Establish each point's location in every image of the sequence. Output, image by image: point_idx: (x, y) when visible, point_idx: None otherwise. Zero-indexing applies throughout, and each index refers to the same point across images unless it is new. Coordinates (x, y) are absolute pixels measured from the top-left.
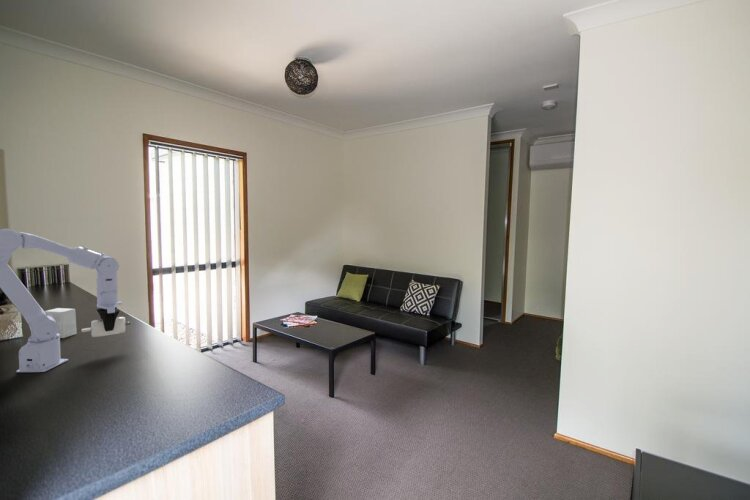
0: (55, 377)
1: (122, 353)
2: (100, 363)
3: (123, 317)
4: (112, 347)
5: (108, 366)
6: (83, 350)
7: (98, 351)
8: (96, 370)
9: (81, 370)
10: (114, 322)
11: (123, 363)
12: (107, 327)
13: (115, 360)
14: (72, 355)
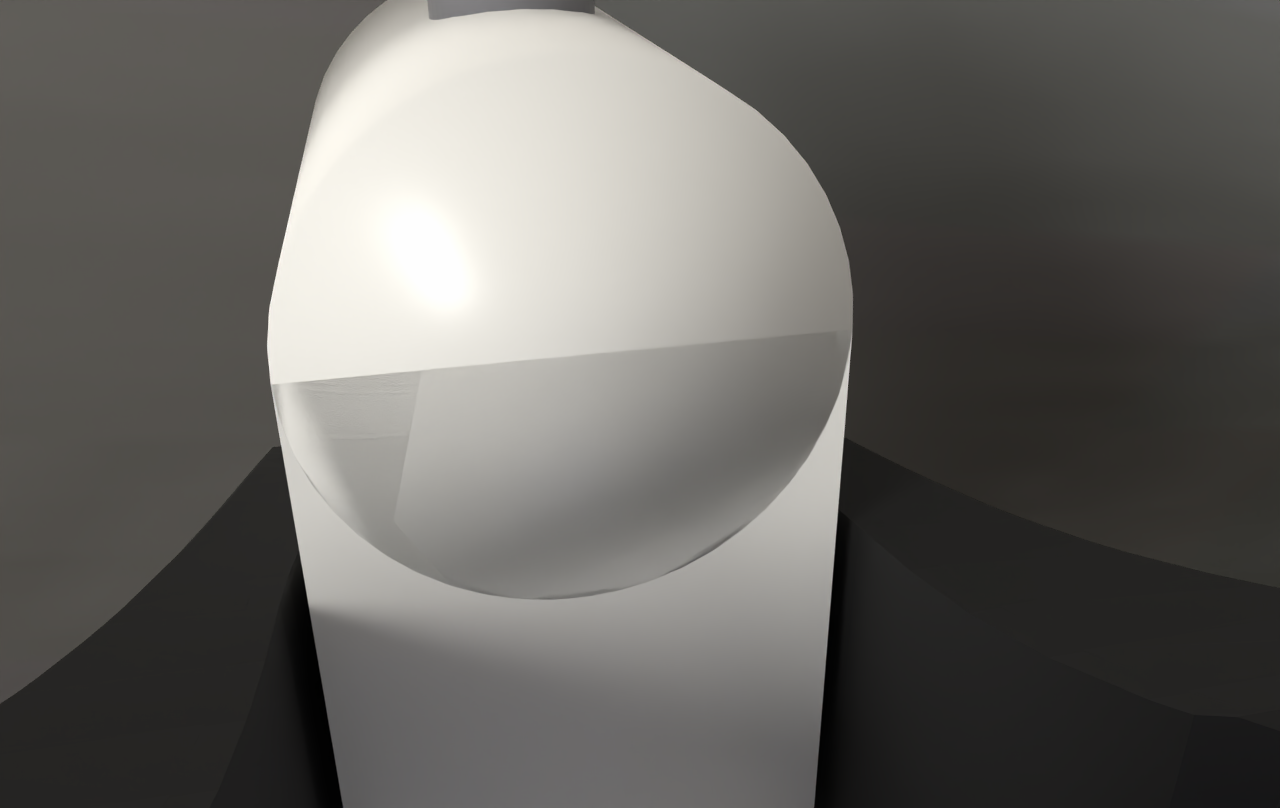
0: None
1: (680, 31)
2: (967, 383)
3: (555, 139)
4: (81, 163)
5: (1186, 292)
6: (17, 621)
7: (247, 406)
8: (1210, 427)
9: None
10: (946, 500)
11: (1240, 89)
12: None
13: (998, 184)
14: None
